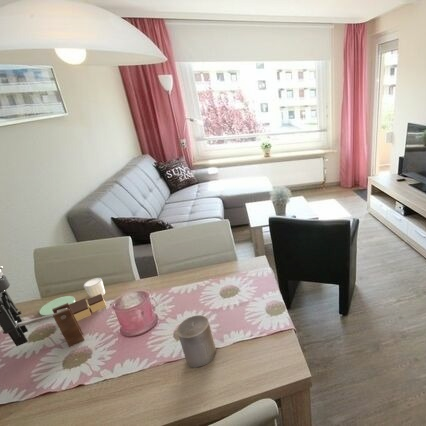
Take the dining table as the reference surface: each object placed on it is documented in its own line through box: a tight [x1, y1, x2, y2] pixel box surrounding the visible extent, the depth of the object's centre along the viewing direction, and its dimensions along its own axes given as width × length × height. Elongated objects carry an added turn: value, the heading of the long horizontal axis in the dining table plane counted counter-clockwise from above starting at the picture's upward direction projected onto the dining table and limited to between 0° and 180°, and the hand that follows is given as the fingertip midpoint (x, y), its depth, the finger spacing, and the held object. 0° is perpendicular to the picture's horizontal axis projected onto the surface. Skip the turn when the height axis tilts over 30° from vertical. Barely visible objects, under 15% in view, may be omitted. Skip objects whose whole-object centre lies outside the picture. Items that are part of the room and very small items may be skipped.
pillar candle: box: [176, 314, 217, 368], centre depth 98 cm, size 10×10×15 cm
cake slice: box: [86, 294, 107, 314], centre depth 124 cm, size 5×5×5 cm
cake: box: [69, 298, 92, 322], centre depth 119 cm, size 8×8×5 cm
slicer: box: [14, 308, 67, 327], centre depth 99 cm, size 14×6×2 cm, turn 133°
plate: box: [39, 295, 77, 317], centre depth 127 cm, size 12×12×1 cm
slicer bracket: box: [52, 303, 85, 348], centre depth 105 cm, size 10×8×16 cm
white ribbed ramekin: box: [82, 277, 106, 298], centre depth 132 cm, size 7×7×7 cm
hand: (22, 338), depth 97 cm, fingers closed on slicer, 5 cm apart
